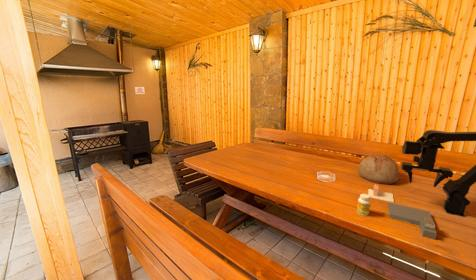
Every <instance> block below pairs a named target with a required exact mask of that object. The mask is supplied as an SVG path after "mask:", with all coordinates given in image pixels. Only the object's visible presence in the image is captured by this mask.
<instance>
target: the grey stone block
mask: <svg viewBox="0 0 476 280" xmlns="http://www.w3.org/2000/svg"><path fill="white" fill-rule="evenodd" d="M423 224H424V227H426V228H430V229H435V230H436V224H435V222H434V219H433V218H432V219H430V218H426V217H423Z"/></svg>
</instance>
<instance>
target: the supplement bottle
mask: <svg viewBox="0 0 476 280" xmlns="http://www.w3.org/2000/svg"><path fill="white" fill-rule="evenodd" d="M370 198H371V197H370V196H369V195H368V193H360V195H359V198H358V199H357V205H356V206H357V207H356V212H357V214H359V215H361V216H364V217H365V216H369V214H370V210H371V202H372V201H371V200H370Z"/></svg>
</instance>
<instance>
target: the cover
mask: <svg viewBox="0 0 476 280" xmlns="http://www.w3.org/2000/svg"><path fill="white" fill-rule="evenodd" d="M367 195H369V196H370V198H372V199H376V200H381V201H385V202H388V203H389V202H390V203H394V204H395V200H394V194H393V193H391V192H386V191H380V190H379V184H376V183H375V184H374V186H373V189H370V188H368V189H367Z"/></svg>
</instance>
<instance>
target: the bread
mask: <svg viewBox="0 0 476 280" xmlns="http://www.w3.org/2000/svg"><path fill="white" fill-rule="evenodd" d="M357 170H358V172H357V173H358V174H359V175H360V177H362V178H363V179H365V180H366V181H369V182H371V183H375V184H383V185H384V184H385V185H387V184H388V185H390V184H394V183H397V182H398V181H399V179H400V171H399V167H398V164H397V163H396V161H394V159H393V158H391V157H390V156H387V155H384V154H382V155H379V154H372V155H369V156H367V157H364V158H363V159H362V160H361V161H360V163H359V164H358V167H357Z"/></svg>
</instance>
